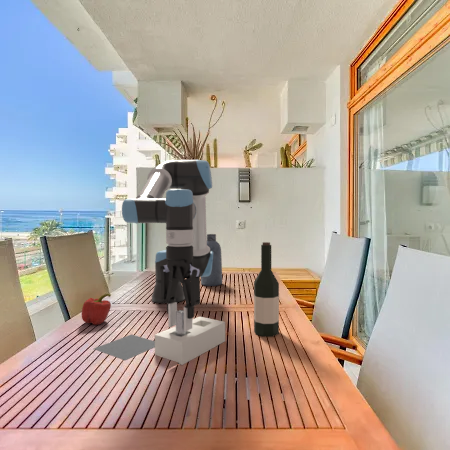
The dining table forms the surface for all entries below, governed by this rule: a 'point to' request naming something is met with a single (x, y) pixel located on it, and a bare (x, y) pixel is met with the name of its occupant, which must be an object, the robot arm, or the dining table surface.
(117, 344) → the mat
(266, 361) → the dining table surface
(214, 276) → the blue-grey bottle
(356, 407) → the dining table surface
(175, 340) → the block
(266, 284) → the wine bottle
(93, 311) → the vegetable
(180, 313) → the peg
